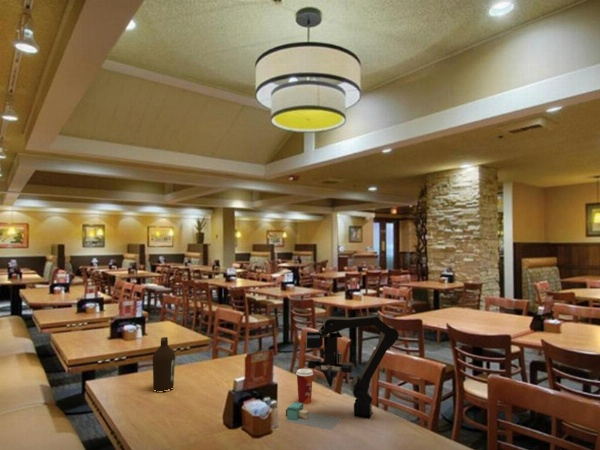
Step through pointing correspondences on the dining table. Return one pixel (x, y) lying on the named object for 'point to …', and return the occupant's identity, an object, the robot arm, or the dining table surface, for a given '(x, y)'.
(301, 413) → the long wooden beam
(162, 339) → the olive oil
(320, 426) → the mat
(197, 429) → the dining table surface
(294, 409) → the teal faceted block
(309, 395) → the paper cup
